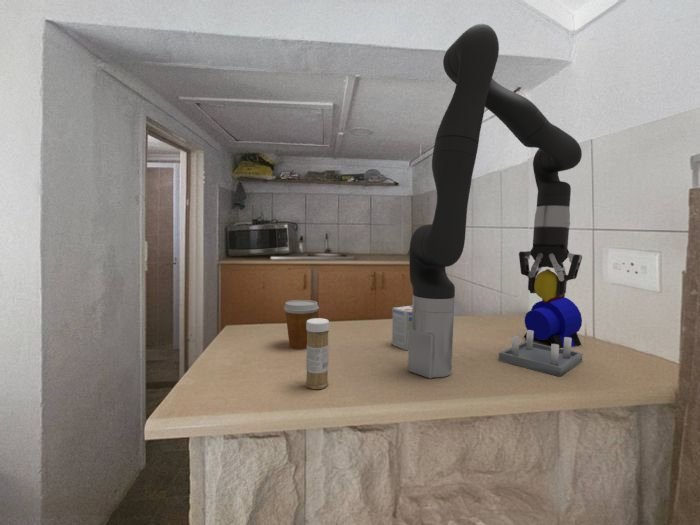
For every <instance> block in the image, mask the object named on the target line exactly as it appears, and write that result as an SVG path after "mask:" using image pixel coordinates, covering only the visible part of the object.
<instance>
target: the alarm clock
mask: <svg viewBox="0 0 700 525" xmlns="http://www.w3.org/2000/svg"><path fill="white" fill-rule="evenodd" d="M565 296H566V294H565V295H563V296H562V297H557V295H556V296H555V297H554V298H551V299H549V300H548V301H544V300H543V299H542V298H541V300H539V301H537V302H535V303H534V304H533V305H532V307H531V308H530V310H529V311H528V312H526V313H525V316H524V324H525V325H524V326H525V328H526V333H525V334H524V335H523V338H527V330H532V331H534V333H533V339H536V340H537V341H544V340H547V341H548V342H549V343H550V344H558V345H559V348H560V349H563V348H564V337H569V338H572V341H571V348H573V347H580V346H579V345H581V346H582V343H581V340H580V338H579V336H578V332H579V331H580V329H581V327H582V323H583V319H582V318H583V317H582V313H581V312H580V311H581V310H580V309H579V307H578V306H577V305H576V303H575V302H574V301H572V300H571V299H569V298H568V297H565Z"/></svg>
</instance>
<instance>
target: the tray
mask: <svg viewBox="0 0 700 525" xmlns="http://www.w3.org/2000/svg"><path fill="white" fill-rule="evenodd" d="M526 332H527V337H526V340H524V341H523V342H520V336H519V335H512V337H511V341H512V342H511V346H510V347H509V348H506V349H504V350H502V351H499V352H498V362H504V363H506V362H507V364H510V365H514V366H519V367H521V366H522V367H523V368H526V369H530V370H532V371H537V372H540V373H545V374H548V375H552V376H556V377H560V378H561V377H562V376H563V375H566V373H568V372H569V371H571V370H572V369H573V368H575V367H576V366H577V365H579V364H580V363H582V362H583V353H582V352H578V351H573V350H572V347H571V341H572V338H569V337H564V348H559V345H558V344H552V343H550V344H551V345H545V344H541V343H537V342H534V337H533V333H534V331H532V330H527V329H526Z"/></svg>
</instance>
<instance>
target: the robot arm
mask: <svg viewBox="0 0 700 525" xmlns="http://www.w3.org/2000/svg"><path fill="white" fill-rule="evenodd" d="M499 44H500V43H499V38H498V36H497V33H496V31H495V30H494V29H493V27H491V25H489V24H485V23H477V24H475V25H472V26H470V27H469V28H468V29H467V30H465V31H464V32H463V33H462V34H461V35H460V36H459V37H458V38H457V39H456V40H455V41H454V42H453V43H452V44H451V45H450V46H449V47H448V48H447V49H446V51H445V53H444V56H443V60H442V61H443V62H442V64H443V65H442V66H443V69H444V72H445V74H446V76H447V77H448V78H449V79H450V80H451V81H452V82H453V83H454V84H455V85H456V86H455V88H454V92H453V95H452V96H451V99H450V102H449V103H448V106H447V108H446V110H445V112H444V114H443V116H442V119H441V121H440V124H439V126H438V129H437V132H436V135H435V139H434V146H433V149H432V150H433V151H432V155H431V156H432V158H431V171H432V175H433V180H434V185H435V190H436V206H435V210H434V211H435V212H434V216H433V220H432V223H431V224H430V223H429V224H423V225H420V226H419V227H417V228H416V229H415V231H414V232H413V233H412V235H411V239H410V243H409V251H408V252H409V255H408V256H409V280H410V283H411V286H412V303H411V306H412V329H411V330H409V350H408V357H407V358H408V359H407V362H408V363H407V371H408V372H410V373H414V374H416V375H419V376H421V377H422V376H423V377H424V378H427V379H433V378H444V377H448V376H450V375H451V374H452V371H453V349H454V348H453V343H454V322H455V321H454V320H455V318H454V317H455V297H456V295H455V293H456V287H455V284H454V282H452V281H451V280H450V278H449V276H448V275H447V271H446V267H451V266H454V265H455V263H457V262H458V261H459V259H460V258H461V256H462V254H463V253H464V252H463V251H464V248H465V240H466V232H467V231H466V230H467V229H466V228H467V227H466V226H467V219H468V218H467V216H468V215H467V214H468V206H469V198H470V194H471V193H470V191H471V186H472V180H473V174H474V169H475V164H476V158H477V154H478V148H479V143H480V136H481V129H482V125H483V118H484V115H485V114H484V113H485V109H487V110H488V111H490V112H491V113H492V114H494V116H496V117H497V119H499V121H501V122H502V123H503V124H504V125H505V127H507V129H508V130H509V131H510V132H511V133H512V134H513V135H514V137H515V138H516V139H517V140H518V141H519V142H520V143H521V145H523V146H525V147H526V148H537V150H536V152H535V155H534V156H533V160H532V169H533V174H534V180H535V184H536V189H537V195H536V196H537V199H536V210H535V214H534V220H533V221H534V222H533V233H532V235H533V236H532V248H531V249H530V250H528V251H519V252H518V259H519V267H520V269H519V270H520V274H521V275H523V276H525V277H527V278H528V281H527V290H528V291H529V293H530V294H536V292H535V289H534V283H535V279H536V277H537V275H538V274H539V273H540V272H541V271H542V269H543V268H548V269H549V268H550V269H553V270H554V273H555V274H556V275H557V276H558V278H559V281H558V283H557V297H562V296H563V295H565V296H566V293H567V285H568V284H567V282H568V281H571V280H576V279H577V276H578V273H579V270H580V266H581V263H582V260H583V254H578V253H577V254H576V253H571V252H570V251H569V249H568V247H569V246H568V245H569V235H570V234H569V233H570V225H571V211H570V206H571V205H570V204H571V192H572V189H571V188H572V187H571V185H570V183H568V182H566V181H561V180H560V177H559V172H564V171H567V170H571V169H574V168H576V166H578V165H579V163H580V162H581V160H582V157H583V156H582V148H581V146H580V144H579V142H578V141H577V140H576V139H575V138H574V136H572V135H570V134H569V133H567V132H566V131H564V130H563V129H561V128H559V127H558V126H556V125H554V124H553V123H551V122H550V121H549V119H547V117H546V116H545V114H543V112H542V111H540V109H539V108H538V107H537V106H536V105H535V104H534V103H533V102H532V101H531V100H529V99H528V98H527V97H525V96H523V95H522V94H519V93H517V92H514V91H512V90H510V89H508V88H506V87H505V86H503V85H501V84H500V83H498V82H497V81H496V80H494V78H493V76H494V73H495V70H496V65H497V62H498V59H499V52H500V51H499V50H500V47H499V46H500V45H499ZM531 257H532V258H533V260H534V262H533V263H532V266H531V267H530V265H529V264H530V263H529V260H530V259H531ZM567 259H568V261H569V263H570V265H569V266H570V267H569V270H568V272H567V271H566V267H565V265H564V262H565V261H566V260H567ZM530 268H531V269H530ZM566 272H567V273H566Z"/></svg>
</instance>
